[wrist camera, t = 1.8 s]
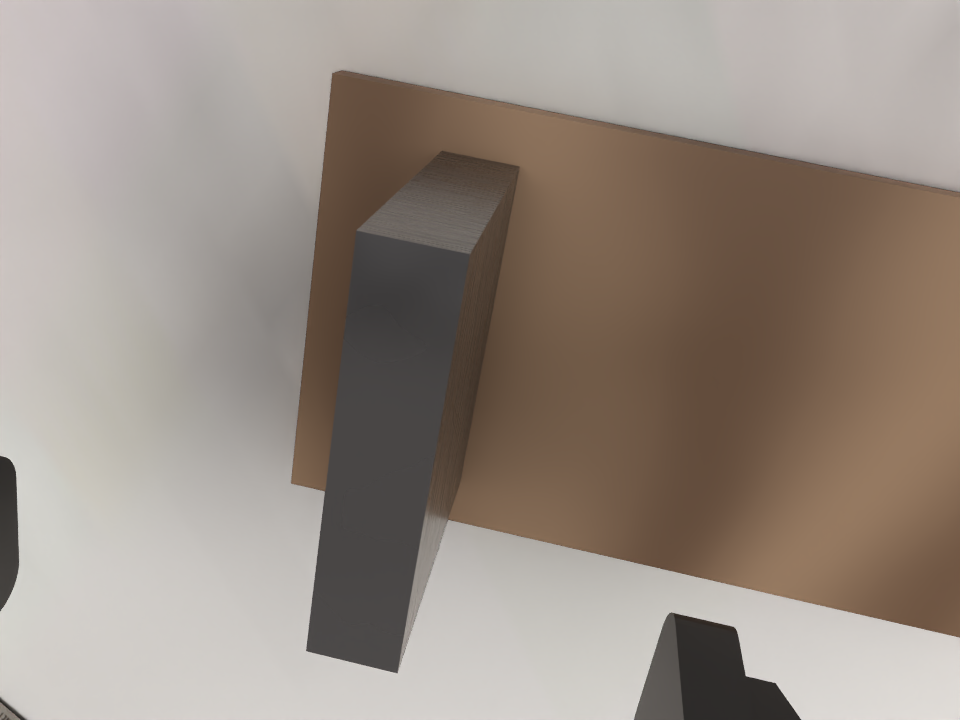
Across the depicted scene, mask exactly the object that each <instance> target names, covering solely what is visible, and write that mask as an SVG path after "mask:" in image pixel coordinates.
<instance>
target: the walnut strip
mask: <svg viewBox="0 0 960 720" xmlns="http://www.w3.org/2000/svg"><path fill="white" fill-rule="evenodd" d="M291 483H292V484H296V485H300V486H305V487H309V488H313V489H318V490H322V491H325V498H324V506H323V514H322V523H321V531H320V539H319V548H318V556H317V565H316V573H315V581H314V590H313V598H312V607H311V615H310V623H309V632H308V640H307V649H306V651H308V652H312V653H316V654H320V655H324V656H329V657H333V658H337V659H341V660H345V661H349V662H353V663H357V664H362V665H366V666H370V667H374V668H378V669H382V670H386V671H390V672H394V673H398V670H399V667H400V664H401V661H402V658H403V655H404V652H405V649H406V646H407V643H408V640H409V637H410V634H411V631H412V628H413V624H414V621H415V618H416V615H417V612H418V609H419V606H420V603H421V600H422V597H423V594H424V591H425V588H426V585H427V582H428V579H429V576H430V573H431V570H432V567H433V564H434V561H435V558H436V555H437V552H438V549H439V546H440V543H441V539H442V536H443V533H444V530H445V527H446V524H447V521H448V520H452V521H457V522H461V523H465V524H470V525H474V526H478V527H483V528H487V529H491V530H496V531H500V532H504V533H509V534H513V535H517V536H522V537H526V538H530V539H535V540H539V541H543V542H548V543H552V544H556V545H561V546H565V547H569V548H574V549H578V550H582V551H587V552H591V553H595V554H600V555H604V556H609V557H613V558H617V559H622V560H626V561H630V562H635V563H639V564H643V565H648V566H652V567H656V568H661V569H665V570H669V571H674V572H678V573H682V574H687V575H691V576H695V577H700V578H704V579H708V580H713V581H717V582H721V583H726V584H730V585H734V586H739V587H743V588H747V589H752V590H756V591H760V592H765V593H769V594H774V595H778V596H782V597H787V598H791V599H795V600H800V601H804V602H808V603H813V604H817V605H821V606H826V607H830V608H834V609H839V610H843V611H847V612H852V613H856V614H860V615H865V616H869V617H873V618H878V619H882V620H886V621H891V622H895V623H899V624H904V625H908V626H912V627H917V628H921V629H925V630H930V631H934V632H939V633H943V634H947V635H952V636H956V637H960V193H958V192H953V191H948V190H943V189H938V188H933V187H928V186H923V185H918V184H913V183H908V182H903V181H898V180H893V179H888V178H882V177H877V176H872V175H867V174H862V173H857V172H852V171H847V170H842V169H837V168H832V167H827V166H822V165H817V164H812V163H807V162H802V161H797V160H792V159H786V158H781V157H776V156H771V155H766V154H761V153H756V152H751V151H746V150H741V149H736V148H731V147H726V146H721V145H716V144H711V143H706V142H701V141H696V140H690V139H685V138H680V137H675V136H670V135H665V134H660V133H655V132H650V131H645V130H640V129H635V128H630V127H625V126H620V125H615V124H610V123H605V122H600V121H594V120H589V119H584V118H579V117H574V116H569V115H564V114H559V113H554V112H549V111H544V110H539V109H534V108H529V107H524V106H519V105H514V104H509V103H504V102H498V101H493V100H488V99H483V98H478V97H473V96H468V95H463V94H458V93H453V92H448V91H443V90H438V89H433V88H428V87H423V86H418V85H413V84H408V83H402V82H397V81H392V80H387V79H382V78H377V77H372V76H367V75H362V74H357V73H352V72H347V71H338V72H335V73H332V83H331V93H330V103H329V113H328V122H327V132H326V142H325V152H324V162H323V172H322V182H321V192H320V202H319V212H318V222H317V231H316V241H315V251H314V261H313V271H312V281H311V291H310V301H309V311H308V321H307V331H306V340H305V350H304V360H303V370H302V380H301V390H300V400H299V410H298V420H297V430H296V440H295V449H294V459H293V469H292V479H291Z"/></svg>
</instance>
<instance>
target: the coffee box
mask: <svg viewBox="0 0 960 720" xmlns="http://www.w3.org/2000/svg"><path fill="white" fill-rule="evenodd" d="M0 720H21V719H19V718H18V717H17V716H16V715H15V714H14V713H12V712H11V711H10V710H9V709H8V708H6V707H5V706H4V705H3V704H2V703H1V702H0Z"/></svg>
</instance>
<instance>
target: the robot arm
mask: <svg viewBox="0 0 960 720" xmlns="http://www.w3.org/2000/svg"><path fill="white" fill-rule="evenodd" d="M18 568H19V547H18V516H17V486H16V471H15V468H14V465H13V463H12V462H11V461H10V460H9V459H8V458H6V457H2V456H0V611H1V609H2V608H3V607H4V605H5V603H6V602H7V600H8V598H9V596H10V594H11V592H12V590H13V587H14V585H15V582H16V578H17V574H18ZM634 720H801V719H800V717H799V716H798V715H797V713H796V712H795V710H794V709H793V708H792V706H791V705H790V703H789V702H788V700H787V699H786V698H785V696H784V695H783V693H782V692H781V690H780V689H779V688H778V686H777V685H776V683H772V682H768V681H763V680H759V679H755V678H750V677H746V676H745V671H744V665H743V660H742V654H741V649H740V643H739V638H738V634H737V631H736V629H735V628H734V627H731V626H727V625H723V624H718V623H714V622H710V621H705V620H701V619H697V618H692V617H688V616H684V615H679V614H675V613H669V615H668V616H667V618H666V620H665V622H664V625H663V627H662V630H661V634H660V637H659V640H658V643H657V647H656V650H655V653H654V656H653V659H652V663H651V666H650V669H649V672H648V675H647V679H646V682H645V685H644V688H643V691H642V695H641V698H640V701H639V704H638V707H637V711H636V714H635V718H634Z"/></svg>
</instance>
